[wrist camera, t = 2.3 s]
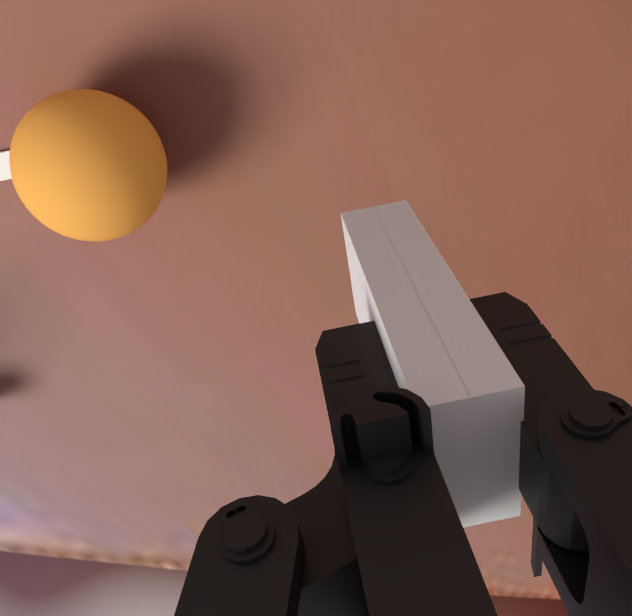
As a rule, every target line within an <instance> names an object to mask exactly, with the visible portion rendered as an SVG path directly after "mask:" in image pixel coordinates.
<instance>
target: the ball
mask: <svg viewBox="0 0 632 616" xmlns="http://www.w3.org/2000/svg"><path fill="white" fill-rule="evenodd" d="M9 163H10V172H11V176H12V181H13V184H14V186H15V189H16V191H17V193H18V195H19V197H20V199H21V200H22V202H23V203H24V205H25V206H26V207H27V209H28V210H29V211H30V212H31V213H32V214H33V216H34V217H36V218H37V219H38V220H39V221H40V222H41V223H43V224H44V225H45V226H47V227H48V228H50V229H52V230H53V231H55V232H57V233H59V234H62V235H64V236H67V237H70V238H73V239H78V240H84V241H105V240H112V239H115V238H119V237H121V236H124V235H126V234H129V233H131V232H132V231H134V230H136V229H137V228H139V227H140V226H141V225H143V224H144V223H145V222H146V221H147V220H148V219H149V218H150V217H151V216H152V215H153V213H154V212H155V210H156V209H157V207H158V205H159V204H160V202H161V200H162V197H163V194H164V192H165V188H166V183H167V159H166V154H165V150H164V148H163V145H162V142H161V140H160V137H159V136H158V134H157V132H156V130H155V129H154V127H153V126H152V124H151V123H150V122H149V120H148V119H147V118H146V117H145V116H144V115H143V114H142V113H141V112H140V111H139V110H138V109H136V108H135V107H134V106H132V105H131V104H129V103H128V102H126V101H125V100H123V99H121V98H119V97H117V96H114V95H112V94H109V93H106V92H102V91H98V90H90V89H75V90H67V91H63V92H59V93H56V94H53V95H51V96H49V97H47V98H45V99H43V100H42V101H40V102H39V103H37V104H36V105H35V106H33V107H32V108H31V109H30V110H29V111H28V112H27V113H26V115H25V116H24V117H23V118H22V120H21V121H20V123H19V125H18V126H17V128H16V130H15V133H14V135H13V138H12V142H11V147H10V155H9Z"/></svg>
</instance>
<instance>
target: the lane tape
mask: <svg viewBox="0 0 632 616" xmlns="http://www.w3.org/2000/svg"><path fill="white" fill-rule="evenodd" d="M9 155H10V150H6V151H1V152H0V181H2V180H7V179H12V176H11V172H10V163H9Z"/></svg>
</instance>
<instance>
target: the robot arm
mask: <svg viewBox="0 0 632 616" xmlns="http://www.w3.org/2000/svg"><path fill="white" fill-rule="evenodd" d="M341 218H342V225H343V231H344V238H345V244H346V251H347V258H348V264H349V271H350V277H351V284H352V290H353V297H354V304H355V310H356V314H357V318H358V321H359V324H355V325H350V326H345V327H340V328H335V329H330V330H326V331H323V332H322V334H321V337H320V339H319V341H318V344H317V346H316V349H315V351H316V356H317V361H318V366H319V371H320V376H321V381H322V386H323V391H324V396H325V401H326V406H327V411H328V416H329V420H330V425H331V432H332V437H333V442H334V447H335V457H334V460H333V464H332V467H331V468H330V470H329V472H328V473H327V475H326V476H325V478H324V479H323V480H322V481H321V482H320V483H319V484H318V485H317V486H316V487H314V488H313V489H311V490H309V491H308V492H306V493H305V494H303V495H301V496H299V497H297V498H296V499H294V500H292V501H290V502H288V503H286V504H284V503H282V502H281V501H279V500H277V499H276V498H271V497H265V496H259V495H256V496H251V497H245V498H239V499H237V500H235V501H233V502H231V503H229V504H227V505H225V506H223V507H221V508H220V509H219V510H218V511H217V512H216V513H215V514H214V515H213V516H212V517H211V518H210V519H209V520H208V521H207V523H206V524H205V526H204V528H203V530H202V532H201V534H200V536H199V538H198V541H197V544H196V547H195V551H194V554H193V557H192V560H191V563H190V567H189V570H188V573H187V576H186V579H185V583H184V586H183V589H182V593H181V595H180V599H179V602H178V605H177V609H176V612H175V615H174V616H497V613H496V611H495V608H494V606H493V603H492V600H491V598H490V595H489V593H488V590H487V588H486V585H485V583H484V580H483V577H482V575H481V572H480V570H479V567H478V565H477V562H476V559H475V557H474V554H473V552H472V549H471V547H470V544H469V542H468V539H467V536H466V534H465V531H464V529H463V528H464V527H468V526H473V525H478V524H483V523H488V522H492V521H497V520H502V519H507V518H512V517H516V516H520V510H521V494H522V496H523V498H524V500H525V502H526V504H527V506H528V508H529V509H530V511H531V513H532V515H533V536H532V554H531V565H532V569H533V574H534V577H536V576H541V572H542V560H543V562H544V564H545V566H546V568H547V570H548V572H549V575H550V577H551V579H552V581H553V583H554V585H555V587H556V589H557V591H558V593H559V595H560V597H561V599H562V601H563V603H564V605H565V607H566V609H567V611H568V613H569V615H570V616H632V406H630V405H629V404H628V403H627V402H626V401H624V400H623V399H621V398H618V397H616V396H614V395H612V394H609V393H607V392H604V391H598V390H594V389H593V388H592V387H591V385H590V384H589V383H588V381H587V380H586V379H585V378H584V376H583V375H582V374H581V372H580V371H579V370H578V369H577V367H576V366H575V365H574V364H573V362H572V361H571V360H570V358H569V357H568V356H567V355H566V353H565V352H564V351H563V349H562V348H561V347H560V346H559V344H558V343H557V342H556V340H555V339H554V338H553V339H552V338H551V334H550V333H549V332H548V330H547V329H546V328H545V326H544V325H543V324H542V325H541V323H540V320H539V319H538V317H537V316H536V315H535V314H534V312H533V311H532V310H531V309H530V307H529V306H528V305H527V304H526V303H524V302H522V301H520V300H519V299H517V298H515V297H513V296H511V295H510V294H508V293H506V292H503V293H498V294H493V295H488V296H483V297H478V298H473V299H469V298H468V296H467V295H466V293H465V292H464V290H463V289H462V287H461V285H460V284H459V282H458V281H457V279H456V278H455V276H454V274H453V273H452V271H451V270H450V268H449V267H448V265H447V263H446V262H445V260H444V259H443V257H442V256H441V254H440V252H439V251H438V249H437V248H436V246H435V245H434V243H433V242H432V240H431V238H430V237H429V235H428V234H427V232H426V231H425V229H424V227H423V226H422V224H421V223H420V221H419V220H418V218H417V216H416V215H415V213H414V212H413V210H412V209H411V207H410V206H409V204H408V202H407V201H406V200H403V201H398V202H393V203H388V204H383V205H378V206H373V207H368V208H363V209H358V210H353V211H348V212H343V213H341Z"/></svg>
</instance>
